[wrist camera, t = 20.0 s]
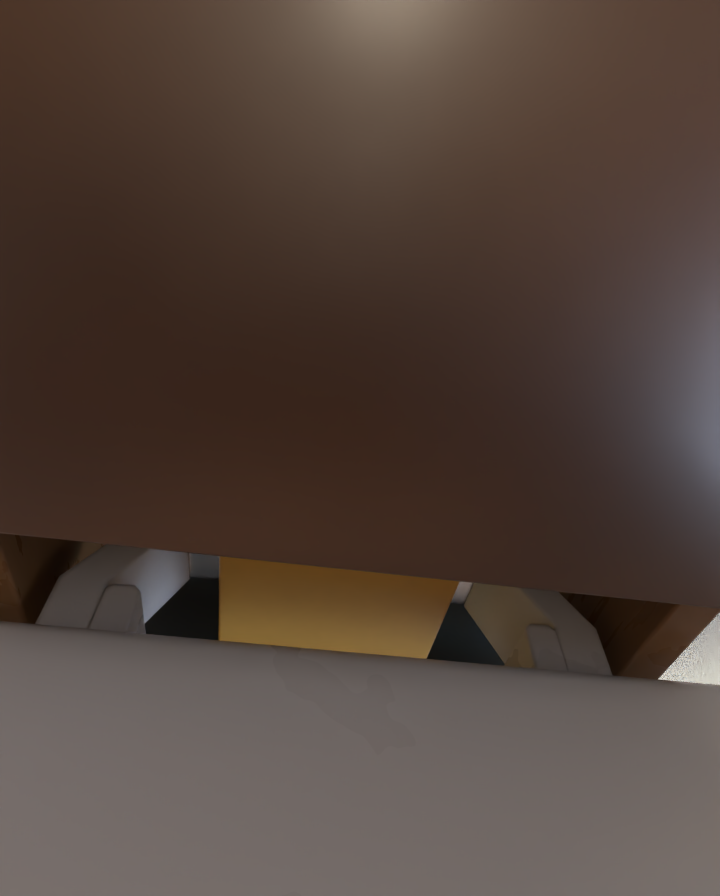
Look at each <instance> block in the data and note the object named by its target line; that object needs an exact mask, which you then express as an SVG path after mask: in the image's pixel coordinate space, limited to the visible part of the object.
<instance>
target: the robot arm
mask: <svg viewBox="0 0 720 896" xmlns="http://www.w3.org/2000/svg"><path fill="white" fill-rule="evenodd" d="M190 577H194V578H208V579H219V556H213V555H203V554H194V553H184V552H175V551H165V550H156V549H146V548H136V547H127V546H117V545H108V544H106V545H104V546H103V547H101V548H100V549H99V550H97V551H96V552H94V553H93V554H91V555H90V556H88V557H87V558H85V559H84V560H82V561H81V562H79V563H78V564H76V565H75V566H73V567H72V568H71V569H69V570H68V571H66V572H65V573H63V574H62V575H60V576H59V578H58V580H57V582H56V583H55V585H54V587H53V589H52V591H51V593H50V595H49V597H48V599H47V601H46V603H45V605H44V607H43V609H42V611H41V613H40V615H39V617H38V619H37V621H36V623H35V624H29V623H18V622H6V621H0V896H720V685H714V684H702V683H691V682H680V681H669V680H657V679H646V678H635V677H624V676H613V675H612V672H611V669H610V667H609V664H608V661H607V658H606V655H605V653H604V650H603V647H602V644H601V641H600V639H599V636H598V633H597V630H596V628H595V627H594V626H593V625H592V624H591V623H590V622H589V621H588V620H586V619H585V618H584V617H583V616H582V615H581V614H580V613H579V612H578V611H577V610H576V609H575V608H574V607H573V606H572V605H571V604H570V603H569V602H568V601H567V600H566V599H565V598H564V597H563V596H562V595H561V594H560V593H559V592H556V591H546V590H537V589H527V588H518V587H508V586H499V585H489V584H480V583H470V582H461V581H460V582H459V584H458V587H457V589H456V591H455V594H454V596H453V598H452V601H451V603H457V604H464V607H465V609H466V610H467V611H468V613H469V614H470V616H471V617H472V618H473V620H474V621H475V623H476V624H477V625H478V627H479V628H480V630H481V631H482V632H483V634H484V635H485V637H486V638H487V640H488V641H489V642H490V644H491V645H492V647H493V648H494V649H495V651H496V652H497V654H498V655H499V656H500V658H501V659H502V661H503V662H504V663H505V664H504V666H501V665H489V664H478V663H467V662H456V661H445V660H433V659H422V658H411V657H400V656H388V655H377V654H366V653H355V652H344V651H332V650H321V649H310V648H299V647H287V646H276V645H265V644H254V643H243V642H231V641H220V640H209V639H198V638H186V637H175V636H164V635H153V634H146V631H145V623H146V622H147V621H148V620H149V619H150V618H151V617H152V616H153V615H154V614H155V613H156V612H157V611H158V610H159V609H160V608H161V607H162V606H163V605H164V604H165V603H166V602H167V601H168V600H169V599H170V598H171V597H172V596H173V595H174V594H175V593H176V592H177V591H178V590H179V589H180V588H181V587H182V586H183V585H184V584H185V583H186V582H187V581H188V580H189V579H190Z"/></svg>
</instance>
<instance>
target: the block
mask: <svg viewBox="0 0 720 896" xmlns="http://www.w3.org/2000/svg"><path fill="white" fill-rule="evenodd" d="M459 582H460V581H451V580H442V579H432V578H423V577H413V576H403V575H394V574H384V573H375V572H365V571H356V570H346V569H337V568H327V567H318V566H308V565H299V564H289V563H279V562H270V561H260V560H251V559H241V558H232V557H222V556H219V626H218V640H220V641H231V642H243V643H254V644H265V645H276V646H287V647H299V648H310V649H321V650H332V651H344V652H355V653H366V654H377V655H388V656H400V657H411V658H422V659H427V657H428V654H429V652H430V650H431V647H432V645H433V643H434V640H435V638H436V636H437V633H438V631H439V629H440V626H441V624H442V622H443V619H444V617H445V615H446V612H447V610H448V608H449V605H450V603H451V601H452V598H453V596H454V594H455V591H456V589H457V587H458V584H459Z"/></svg>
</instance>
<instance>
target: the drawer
mask: <svg viewBox="0 0 720 896" xmlns="http://www.w3.org/2000/svg"><path fill="white" fill-rule="evenodd" d="M104 545H106V544H98V543H89V542H79V541H70V540H60V539H51V538H41V537H32V536H22V535H13V534H3V533H0V621H6V622H18V623H29V624H35V623H36V621H37V619H38V617H39V615H40V613H41V611H42V609H43V607H44V605H45V603H46V601H47V599H48V597H49V595H50V593H51V591H52V589H53V587H54V585H55V583H56V582H57V580H58V578H59V576H60V575H62V574H63V573H65V572H66V571H68V570H69V569H71V568H72V567H73V566H75V565H76V564H78V563H79V562H81V561H82V560H84V559H85V558H87V557H88V556H90V555H91V554H93V553H94V552H96V551H97V550H99V549H100V548H101V547H103V546H104ZM559 593H560V594H561V595H562V596H563V597H564V598H565V599H566V600H567V601H568V602H569V603H570V604H571V605H572V606H573V607H574V608H575V609H576V610H577V611H578V612H579V613H580V614H581V615H582V616H583V617H584V618H585V619H586V620H588V621H589V622H590V623H591V624H592V625H593V626H594V627H595V628H596V630H597V633H598V636H599V639H600V641H601V644H602V647H603V650H604V653H605V655H606V658H607V661H608V664H609V667H610V669H611V672H612V675H613V676H624V677H635V678H646V679H658V678H659V677H660V676H661V675H662V674H663V673H664V672H665V671H666V670H667V669H668V667H669V666H670V665H671V664H672V663H673V662H674V661H675V660H676V659H677V658H678V657H679V656H680V654H681V653H682V652H683V651H684V650H685V649H686V648H687V647H688V646H689V645H690V644H691V643H692V641H693V640H694V639H695V638H696V637H697V636H698V635H699V634H700V633H701V632H702V631H703V630H704V628H705V627H706V626H707V625H708V624H709V623H710V622H711V621H712V620H713V619H714V618H715V617H716V615H717V614H718V613H719V612H720V609H718V608H709V607H699V606H689V605H680V604H670V603H661V602H651V601H642V600H632V599H623V598H613V597H604V596H594V595H585V594H575V593H566V592H559ZM218 626H219V579H208V578H194V577H190V579H189V580H188V581H187V582H186V583H185V584H184V585H183V586H182V587H181V588H180V589H179V590H178V591H177V592H176V593H175V594H174V595H173V596H172V597H171V598H170V599H169V600H168V601H167V602H166V603H165V604H164V605H163V606H162V607H161V608H160V609H159V610H158V611H157V612H156V613H155V614H154V615H153V616H152V617H151V618H150V619H149V620H148V621H147V622H146V623H145V631H146V634H153V635H164V636H175V637H186V638H198V639H209V640H218ZM427 659H433V660H445V661H456V662H467V663H478V664H489V665H501V666H504V664H505V663H504V662H503V661H502V659H501V658H500V656H499V655H498V654H497V652H496V651H495V649H494V648H493V647H492V645H491V644H490V642H489V641H488V640H487V638H486V637H485V635H484V634H483V632H482V631H481V630H480V628H479V627H478V625H477V624H476V623H475V621H474V620H473V618H472V617H471V616H470V614H469V613H468V611H467V610H466V609H465V607H464V604H457V603H450V605H449V608H448V610H447V612H446V615H445V617H444V619H443V622H442V624H441V626H440V629H439V631H438V633H437V636H436V638H435V640H434V643H433V645H432V647H431V650H430V652H429V654H428V657H427Z"/></svg>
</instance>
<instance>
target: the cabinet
mask: <svg viewBox="0 0 720 896" xmlns="http://www.w3.org/2000/svg"><path fill="white" fill-rule="evenodd" d="M0 533H3V534H13V535H22V536H32V537H41V538H51V539H60V540H70V541H79V542H89V543H98V544H108V545H117V546H127V547H136V548H146V549H156V550H165V551H175V552H184V553H194V554H203V555H213V556H222V557H232V558H241V559H251V560H260V561H270V562H279V563H289V564H299V565H308V566H318V567H327V568H337V569H346V570H356V571H365V572H375V573H384V574H394V575H403V576H413V577H423V578H432V579H442V580H451V581H461V582H470V583H480V584H489V585H499V586H508V587H518V588H527V589H537V590H546V591H556V592H566V593H575V594H585V595H594V596H604V597H613V598H623V599H632V600H642V601H651V602H661V603H670V604H680V605H689V606H699V607H709V608H718V609H720V0H0Z"/></svg>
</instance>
